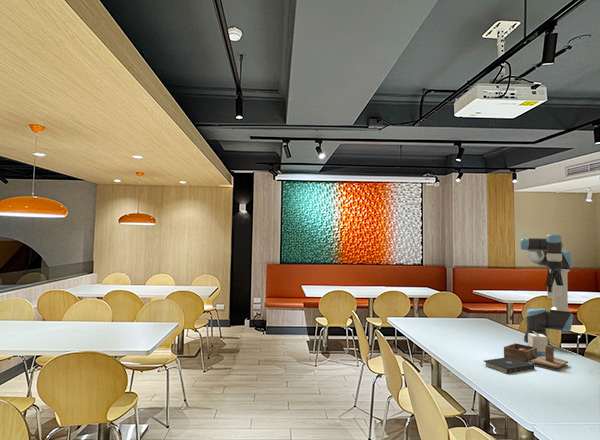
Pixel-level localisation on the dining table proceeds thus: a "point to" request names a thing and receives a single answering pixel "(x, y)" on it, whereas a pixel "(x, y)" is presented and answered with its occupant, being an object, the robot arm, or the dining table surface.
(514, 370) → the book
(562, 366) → the mat
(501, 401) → the dining table surface
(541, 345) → the ink box
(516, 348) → the crate
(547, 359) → the lid
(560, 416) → the dining table surface
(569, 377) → the dining table surface
